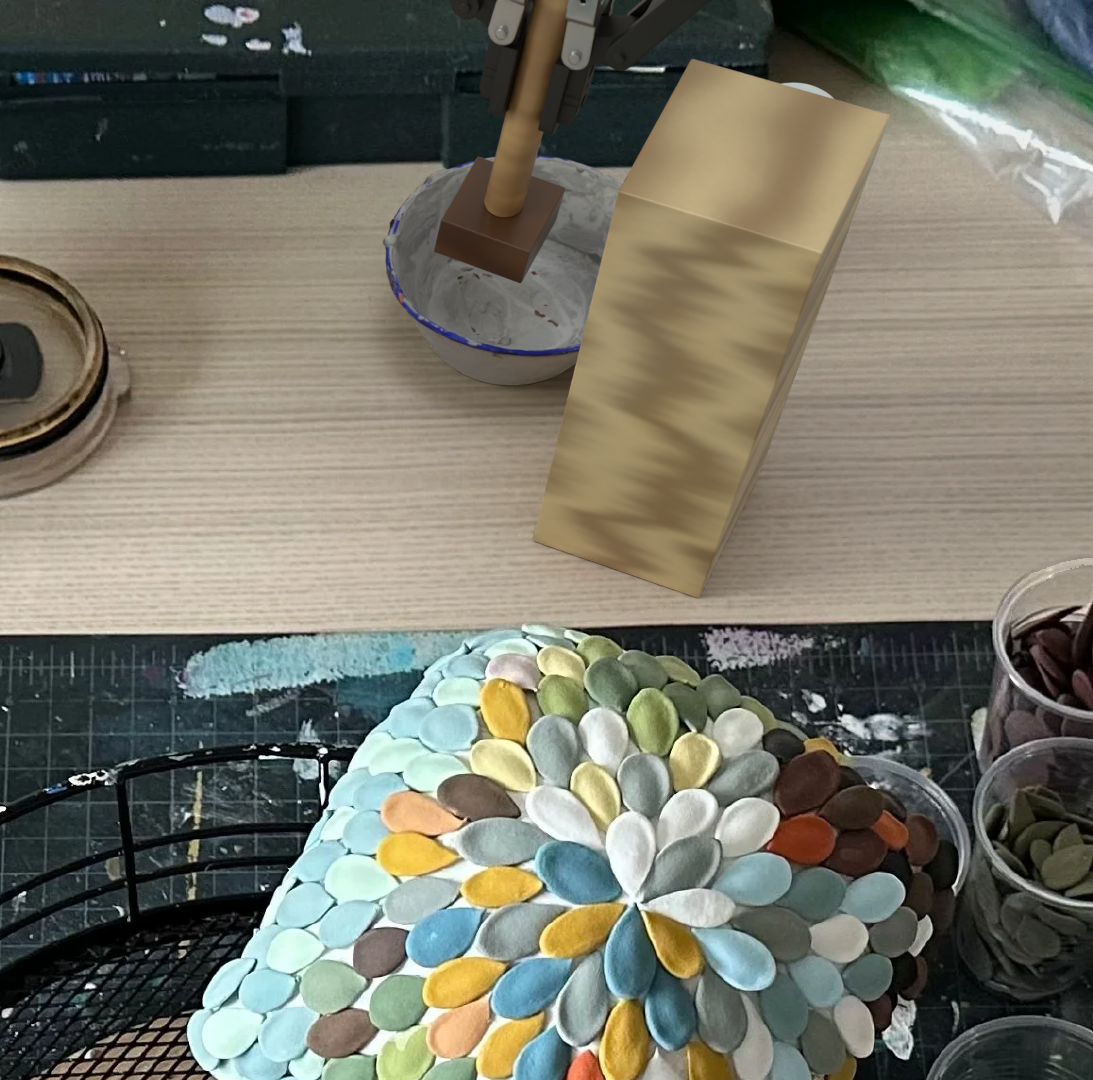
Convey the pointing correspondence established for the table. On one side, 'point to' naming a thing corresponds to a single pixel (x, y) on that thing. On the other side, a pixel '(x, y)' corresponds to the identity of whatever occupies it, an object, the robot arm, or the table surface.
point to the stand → (702, 319)
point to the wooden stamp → (511, 169)
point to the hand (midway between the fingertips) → (527, 110)
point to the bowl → (503, 279)
